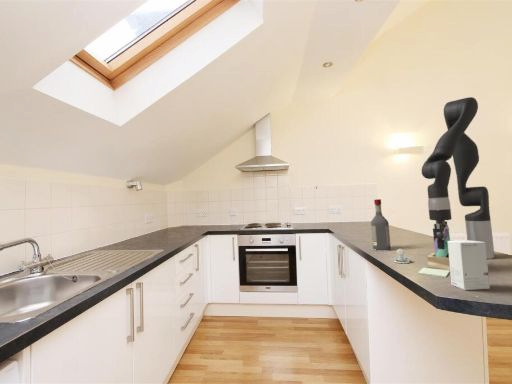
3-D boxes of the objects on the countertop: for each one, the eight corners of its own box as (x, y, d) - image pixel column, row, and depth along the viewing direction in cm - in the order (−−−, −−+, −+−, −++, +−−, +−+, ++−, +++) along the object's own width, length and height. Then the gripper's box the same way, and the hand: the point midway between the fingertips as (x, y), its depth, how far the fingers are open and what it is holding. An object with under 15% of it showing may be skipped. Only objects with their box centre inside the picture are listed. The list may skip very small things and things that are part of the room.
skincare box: (464, 290, 79) (459, 242, 80) (450, 284, 85) (445, 240, 86) (491, 289, 79) (486, 241, 80) (475, 283, 85) (470, 238, 86)
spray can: (437, 265, 109) (432, 219, 110) (453, 267, 106) (448, 219, 107) (436, 268, 105) (431, 220, 106) (452, 270, 102) (447, 220, 103)
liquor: (389, 248, 155) (385, 199, 156) (391, 250, 146) (386, 198, 148) (372, 247, 158) (368, 199, 160) (373, 250, 149) (369, 199, 151)
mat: (423, 268, 106) (423, 267, 106) (449, 271, 100) (449, 270, 100) (417, 273, 100) (417, 272, 100) (446, 277, 93) (446, 275, 93)
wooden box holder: (433, 264, 112) (432, 252, 113) (460, 266, 106) (459, 254, 106) (428, 268, 105) (427, 256, 106) (457, 272, 99) (456, 259, 99)
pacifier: (411, 264, 115) (409, 261, 120) (410, 250, 115) (408, 248, 120) (393, 264, 118) (392, 260, 123) (392, 250, 118) (391, 247, 123)
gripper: (432, 208, 114) (435, 244, 113) (425, 209, 104) (428, 249, 103) (452, 207, 109) (456, 245, 108) (447, 208, 99) (451, 250, 98)
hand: (443, 247), depth 106 cm, fingers open, 8 cm apart
